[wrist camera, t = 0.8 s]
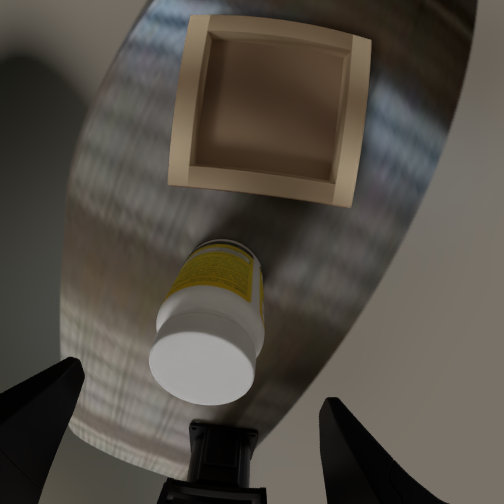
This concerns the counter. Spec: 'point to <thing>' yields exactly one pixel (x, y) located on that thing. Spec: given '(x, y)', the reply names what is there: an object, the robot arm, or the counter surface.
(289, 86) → the jig cradle
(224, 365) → the supplement bottle
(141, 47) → the counter surface
